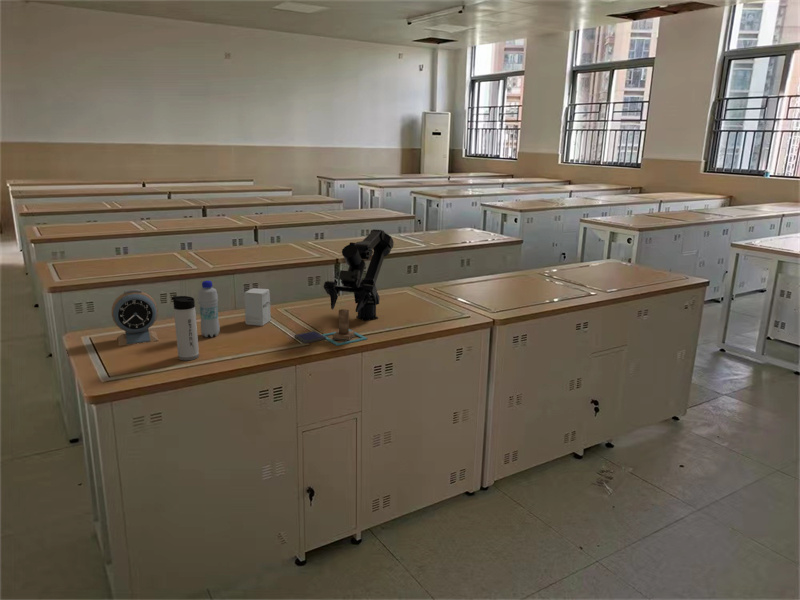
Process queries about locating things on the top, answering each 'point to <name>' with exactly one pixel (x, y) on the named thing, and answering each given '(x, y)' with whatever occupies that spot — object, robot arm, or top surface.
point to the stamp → (344, 327)
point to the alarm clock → (135, 317)
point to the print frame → (346, 341)
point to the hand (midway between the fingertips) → (344, 310)
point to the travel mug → (186, 327)
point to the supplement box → (257, 306)
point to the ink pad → (310, 337)
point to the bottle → (208, 309)
